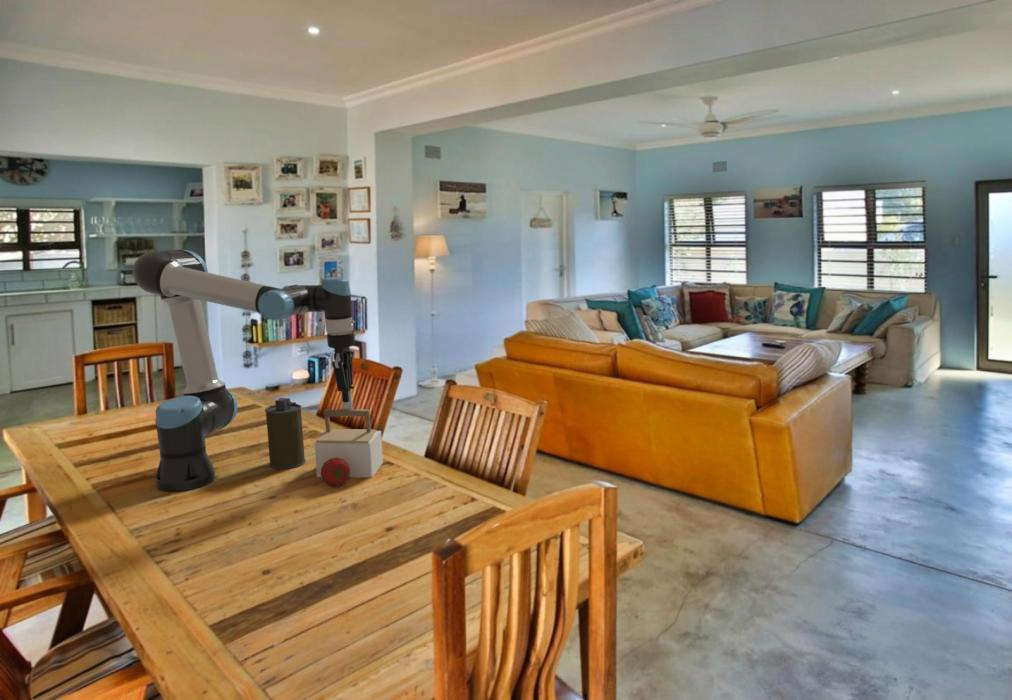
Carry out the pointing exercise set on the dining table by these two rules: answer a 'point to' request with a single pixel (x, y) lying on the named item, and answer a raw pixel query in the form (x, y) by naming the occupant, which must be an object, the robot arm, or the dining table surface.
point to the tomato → (335, 472)
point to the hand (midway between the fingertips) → (348, 411)
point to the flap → (346, 434)
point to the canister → (285, 434)
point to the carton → (352, 455)
